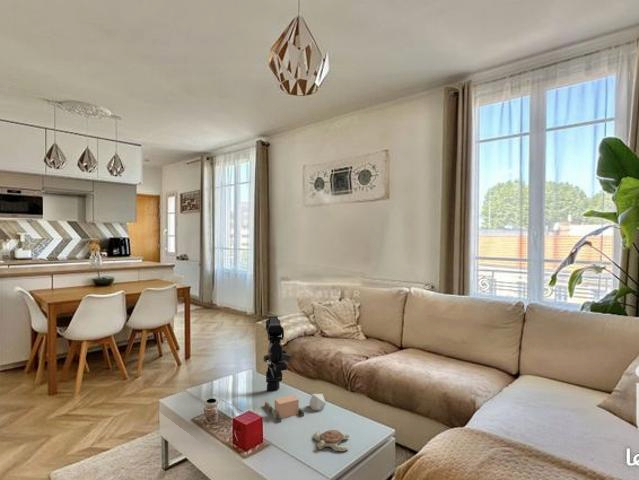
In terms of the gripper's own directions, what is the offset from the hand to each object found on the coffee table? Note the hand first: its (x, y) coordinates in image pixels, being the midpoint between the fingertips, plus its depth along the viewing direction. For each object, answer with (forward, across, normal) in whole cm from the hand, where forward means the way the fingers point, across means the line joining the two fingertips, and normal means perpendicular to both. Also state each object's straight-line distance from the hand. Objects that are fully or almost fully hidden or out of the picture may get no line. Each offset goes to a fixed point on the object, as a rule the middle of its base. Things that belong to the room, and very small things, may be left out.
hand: (275, 378), depth 193 cm
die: (+13, -17, -16) cm, 27 cm away
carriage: (+12, -15, 0) cm, 19 cm away
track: (+13, -12, 0) cm, 18 cm away
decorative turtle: (+14, -45, -7) cm, 48 cm away
